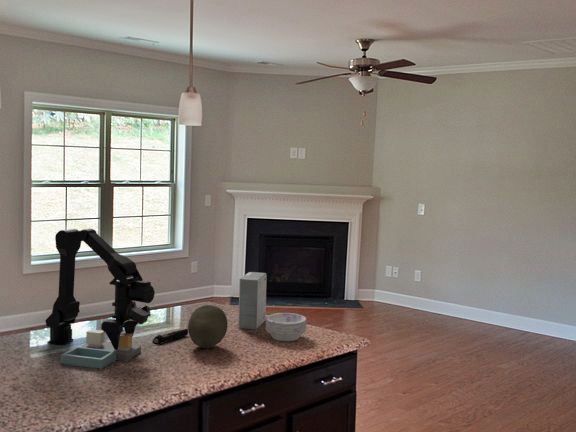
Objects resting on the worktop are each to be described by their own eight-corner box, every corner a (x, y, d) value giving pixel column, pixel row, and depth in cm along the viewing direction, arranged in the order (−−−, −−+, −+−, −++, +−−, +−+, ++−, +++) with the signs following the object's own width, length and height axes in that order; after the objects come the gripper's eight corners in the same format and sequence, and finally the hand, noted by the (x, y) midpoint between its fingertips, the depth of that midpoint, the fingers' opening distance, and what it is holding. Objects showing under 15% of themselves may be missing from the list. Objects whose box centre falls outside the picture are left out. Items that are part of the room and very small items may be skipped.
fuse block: (76, 354, 204) (76, 348, 204) (92, 346, 214) (92, 340, 214) (126, 360, 200) (126, 354, 200) (140, 351, 210) (140, 346, 210)
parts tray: (61, 364, 195) (61, 354, 195) (76, 355, 204) (77, 346, 203) (101, 369, 192) (102, 359, 192) (116, 360, 201) (116, 351, 200)
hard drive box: (247, 318, 259) (249, 271, 257) (265, 320, 258) (267, 272, 256) (237, 328, 244) (239, 278, 242) (256, 330, 243) (258, 279, 241)
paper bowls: (258, 340, 230) (259, 319, 229) (274, 330, 244) (275, 310, 243) (297, 346, 224) (297, 324, 223) (311, 336, 238) (312, 315, 237)
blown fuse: (113, 355, 205) (114, 334, 205) (118, 352, 208) (118, 331, 208) (127, 357, 204) (128, 335, 204) (131, 354, 207) (132, 333, 206)
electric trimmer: (190, 337, 231) (190, 329, 231) (158, 346, 218) (158, 337, 218) (183, 335, 233) (183, 327, 233) (151, 343, 221) (151, 335, 220)
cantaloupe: (178, 347, 217) (179, 305, 215) (209, 339, 227) (211, 299, 226) (204, 357, 207) (205, 313, 206) (235, 349, 218) (237, 307, 216)
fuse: (86, 352, 207) (86, 331, 207) (90, 349, 210) (91, 329, 210) (99, 353, 206) (100, 333, 206) (104, 351, 209) (104, 330, 209)
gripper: (133, 307, 194) (132, 356, 195) (158, 295, 212) (157, 340, 213) (100, 304, 196) (99, 352, 198) (128, 292, 214) (127, 336, 216)
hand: (122, 345), depth 206 cm, fingers open, 9 cm apart
